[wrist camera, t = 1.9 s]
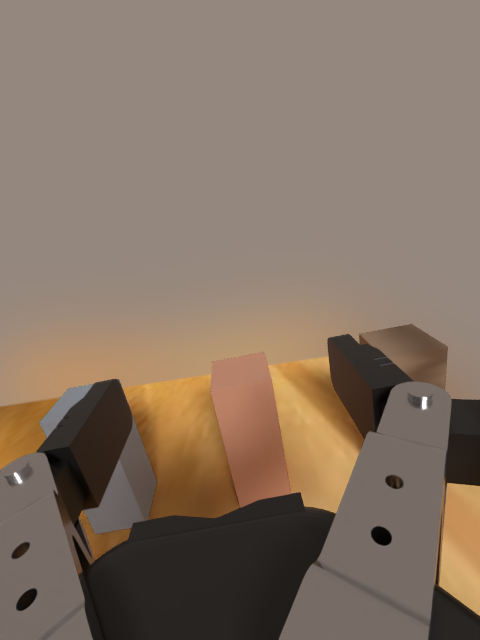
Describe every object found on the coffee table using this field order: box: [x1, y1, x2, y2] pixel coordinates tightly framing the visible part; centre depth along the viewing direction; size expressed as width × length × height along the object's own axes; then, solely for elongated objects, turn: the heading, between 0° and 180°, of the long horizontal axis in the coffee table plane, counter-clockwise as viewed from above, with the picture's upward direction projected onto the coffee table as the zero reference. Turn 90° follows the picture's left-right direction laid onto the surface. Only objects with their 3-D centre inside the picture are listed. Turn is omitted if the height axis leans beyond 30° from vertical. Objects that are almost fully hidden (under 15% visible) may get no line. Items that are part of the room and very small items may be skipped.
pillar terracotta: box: [210, 352, 291, 508], centre depth 26 cm, size 4×4×12 cm
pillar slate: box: [39, 379, 157, 534], centre depth 27 cm, size 4×4×12 cm
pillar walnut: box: [359, 324, 448, 390], centre depth 26 cm, size 4×4×12 cm
